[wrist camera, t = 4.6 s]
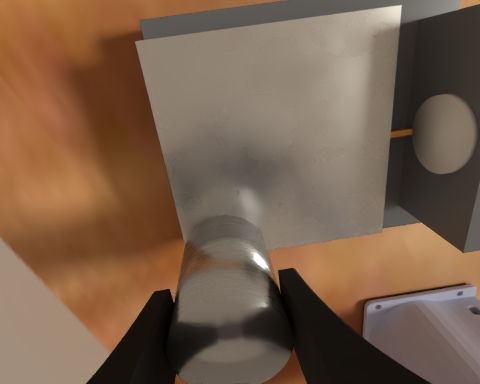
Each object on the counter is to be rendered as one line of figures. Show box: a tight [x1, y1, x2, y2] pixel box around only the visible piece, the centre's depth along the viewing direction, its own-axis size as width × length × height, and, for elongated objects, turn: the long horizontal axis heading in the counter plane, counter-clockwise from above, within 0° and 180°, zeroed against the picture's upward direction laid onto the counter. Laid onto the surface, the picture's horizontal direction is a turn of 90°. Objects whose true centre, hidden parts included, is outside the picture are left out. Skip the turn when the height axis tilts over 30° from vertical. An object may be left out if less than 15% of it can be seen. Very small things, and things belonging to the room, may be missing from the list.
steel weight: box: [166, 215, 293, 384], centre depth 13 cm, size 4×4×6 cm
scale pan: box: [135, 5, 412, 250], centre depth 14 cm, size 12×11×1 cm
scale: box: [139, 0, 480, 253], centre depth 14 cm, size 15×13×8 cm
